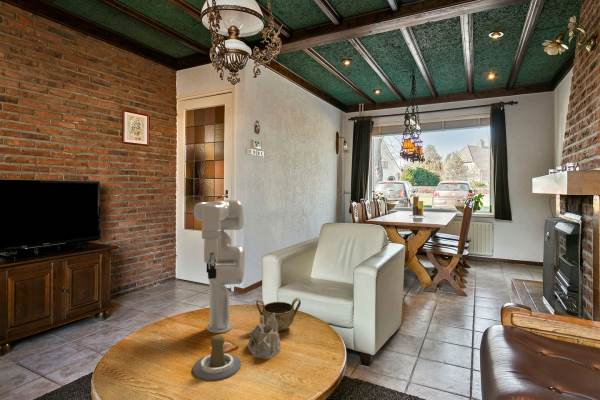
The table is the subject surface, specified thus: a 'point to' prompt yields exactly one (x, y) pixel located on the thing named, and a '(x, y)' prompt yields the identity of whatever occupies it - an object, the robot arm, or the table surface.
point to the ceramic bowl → (279, 312)
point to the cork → (217, 352)
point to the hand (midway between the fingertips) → (211, 275)
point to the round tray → (208, 373)
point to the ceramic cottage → (265, 339)
